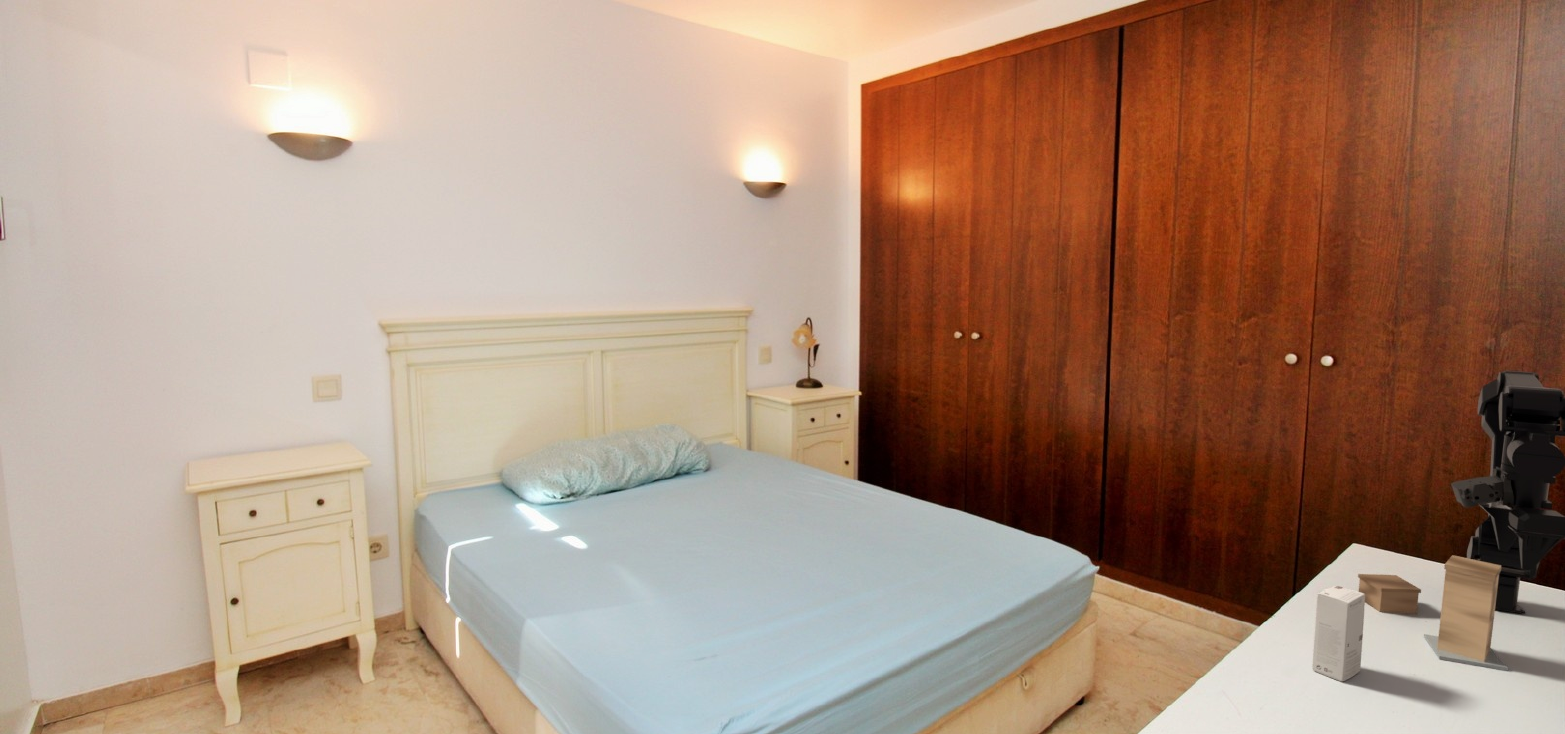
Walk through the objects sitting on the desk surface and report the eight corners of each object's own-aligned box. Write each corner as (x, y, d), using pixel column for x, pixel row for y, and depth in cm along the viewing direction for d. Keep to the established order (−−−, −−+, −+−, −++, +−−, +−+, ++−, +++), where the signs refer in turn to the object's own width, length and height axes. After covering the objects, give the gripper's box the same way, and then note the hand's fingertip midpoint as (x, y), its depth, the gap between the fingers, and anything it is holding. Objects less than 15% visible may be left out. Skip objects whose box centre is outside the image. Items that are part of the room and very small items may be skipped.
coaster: (1423, 636, 125) (1424, 634, 125) (1487, 647, 122) (1487, 644, 122) (1439, 659, 118) (1439, 655, 118) (1507, 670, 115) (1507, 667, 115)
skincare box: (1343, 683, 112) (1351, 603, 110) (1309, 670, 115) (1315, 592, 114) (1361, 671, 115) (1369, 593, 113) (1327, 658, 119) (1334, 583, 117)
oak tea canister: (1443, 636, 124) (1452, 555, 123) (1491, 650, 120) (1501, 565, 118) (1435, 648, 121) (1444, 564, 119) (1485, 662, 116) (1495, 575, 115)
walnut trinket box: (1356, 597, 141) (1358, 573, 140) (1393, 599, 140) (1395, 575, 140) (1379, 613, 135) (1381, 588, 134) (1418, 614, 134) (1421, 589, 133)
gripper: (1442, 448, 134) (1433, 534, 136) (1481, 473, 117) (1470, 571, 119) (1526, 455, 129) (1516, 544, 131) (1580, 482, 112) (1567, 584, 114)
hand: (1514, 560), depth 124 cm, fingers open, 9 cm apart
